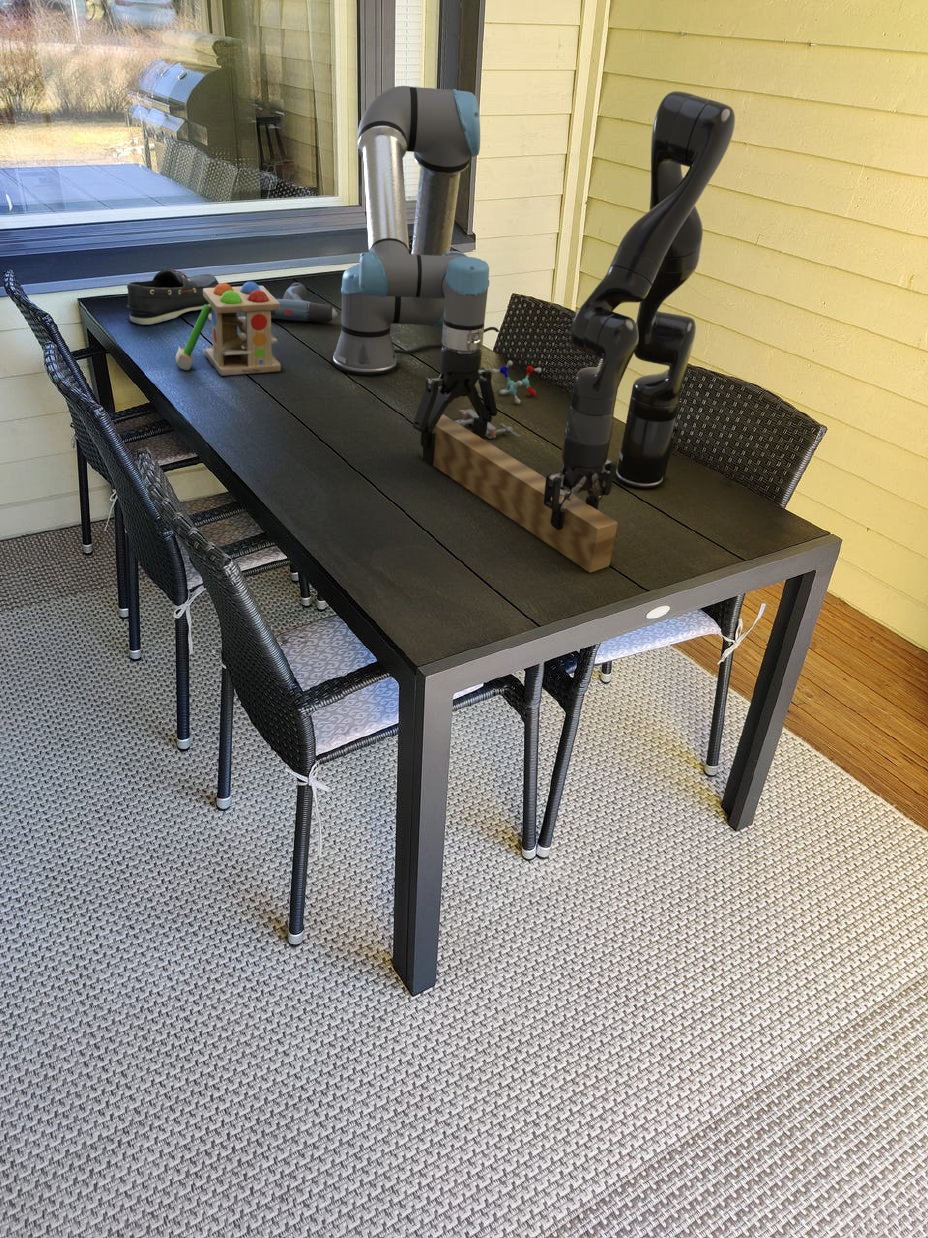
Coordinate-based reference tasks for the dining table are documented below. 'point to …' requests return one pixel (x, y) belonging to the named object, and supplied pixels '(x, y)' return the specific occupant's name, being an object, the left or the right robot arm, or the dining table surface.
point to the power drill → (301, 307)
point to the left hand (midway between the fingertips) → (452, 456)
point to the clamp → (469, 416)
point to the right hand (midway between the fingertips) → (573, 522)
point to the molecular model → (511, 383)
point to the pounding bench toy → (229, 347)
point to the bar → (522, 495)
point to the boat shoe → (167, 296)
